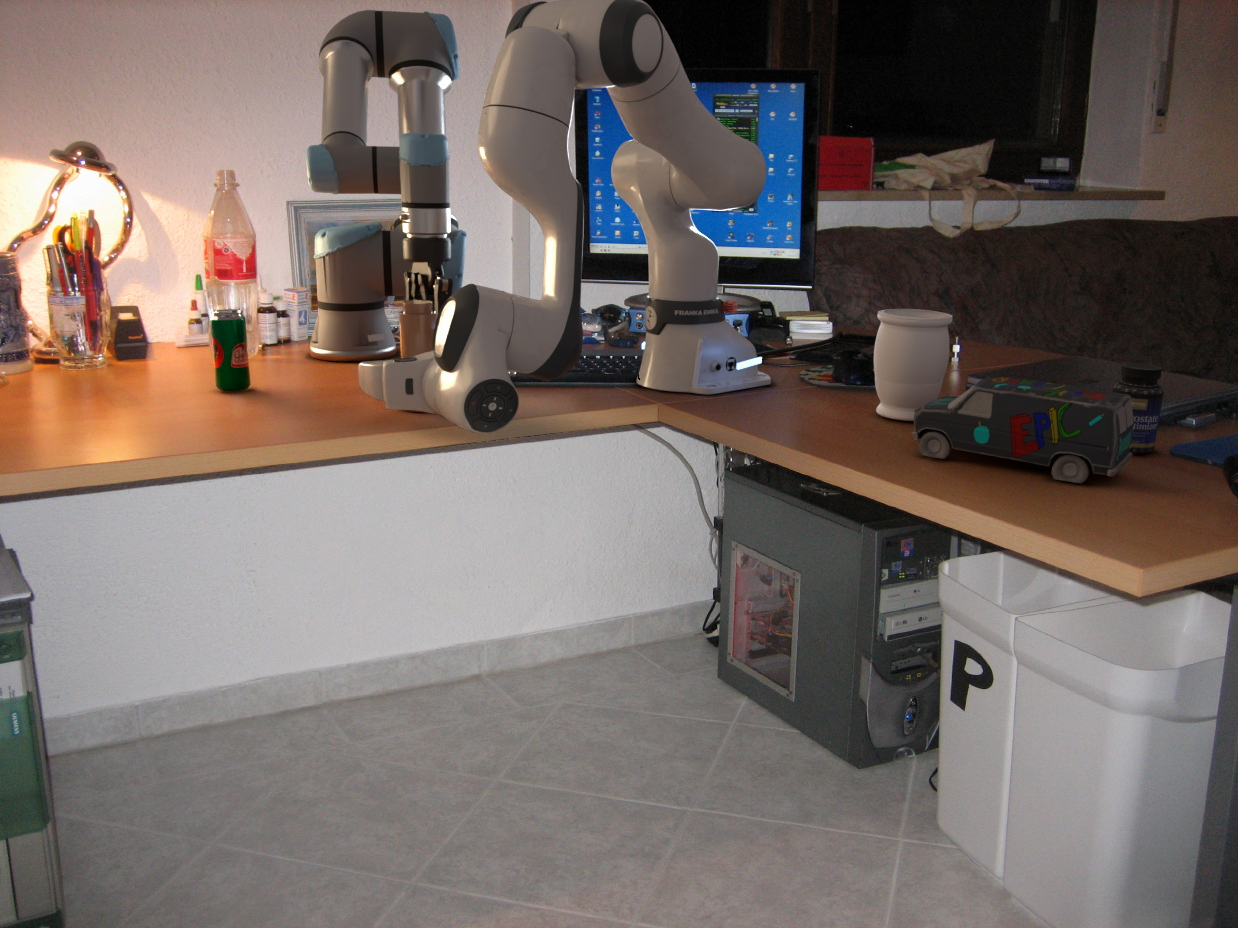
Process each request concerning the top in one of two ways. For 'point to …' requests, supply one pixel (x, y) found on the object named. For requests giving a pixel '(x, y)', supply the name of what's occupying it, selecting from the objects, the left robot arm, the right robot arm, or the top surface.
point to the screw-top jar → (416, 328)
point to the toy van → (1032, 426)
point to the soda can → (230, 350)
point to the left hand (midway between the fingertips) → (430, 379)
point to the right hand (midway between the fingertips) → (417, 363)
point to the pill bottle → (1142, 402)
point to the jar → (910, 360)
